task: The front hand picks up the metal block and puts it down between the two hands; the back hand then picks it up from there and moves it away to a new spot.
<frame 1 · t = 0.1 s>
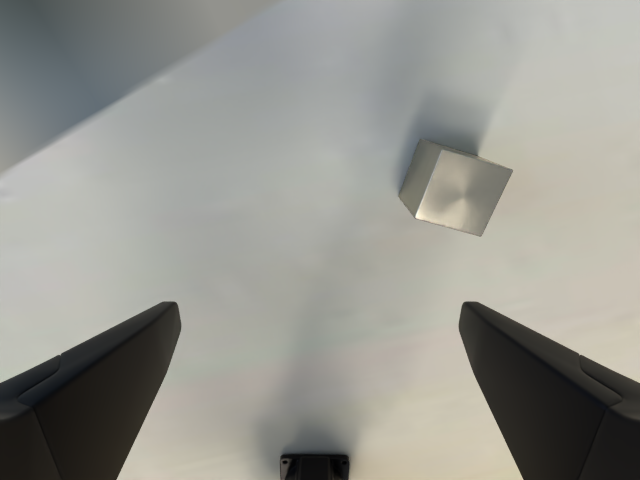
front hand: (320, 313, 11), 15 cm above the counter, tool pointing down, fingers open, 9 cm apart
block: (437, 176, 24), on the counter
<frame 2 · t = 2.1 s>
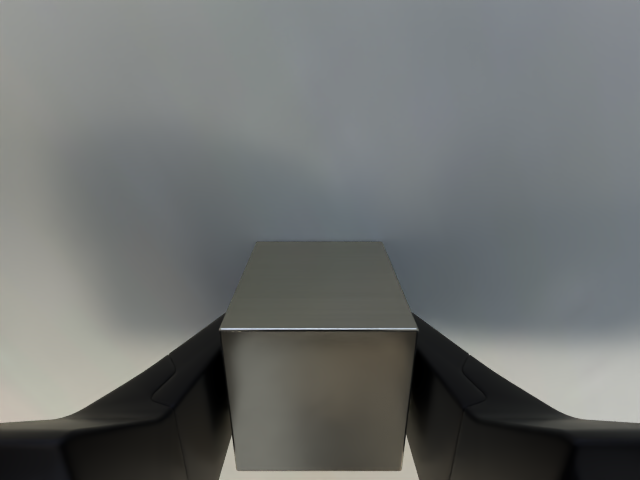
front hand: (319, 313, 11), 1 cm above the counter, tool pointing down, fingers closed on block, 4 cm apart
block: (319, 297, 12), on the counter, touching front hand
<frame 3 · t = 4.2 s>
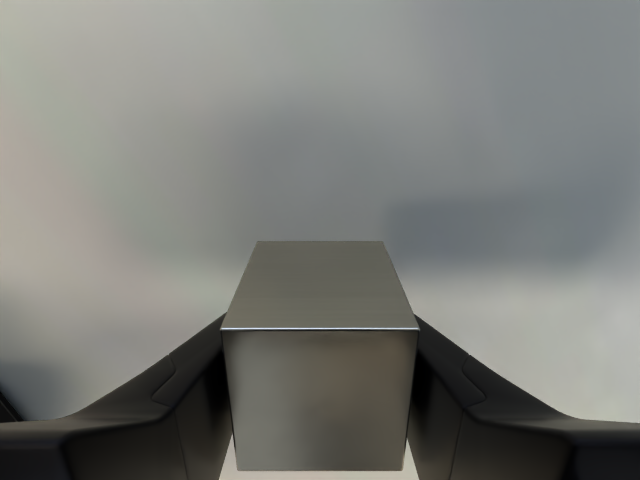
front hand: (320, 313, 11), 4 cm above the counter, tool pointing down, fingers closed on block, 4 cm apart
block: (320, 297, 12), point 3 cm above the counter, touching front hand
when the front hand's fingers open (2 cm above the counter, at t = 6.7 s): block stays where it is, on the counter.
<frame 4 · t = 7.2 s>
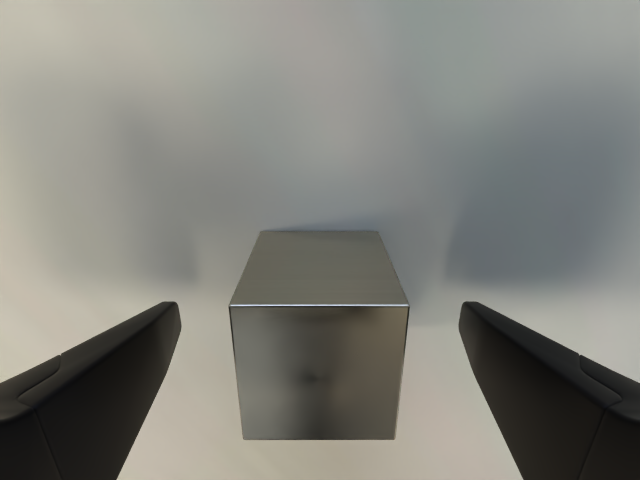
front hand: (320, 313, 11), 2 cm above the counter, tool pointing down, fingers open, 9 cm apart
block: (319, 284, 13), on the counter
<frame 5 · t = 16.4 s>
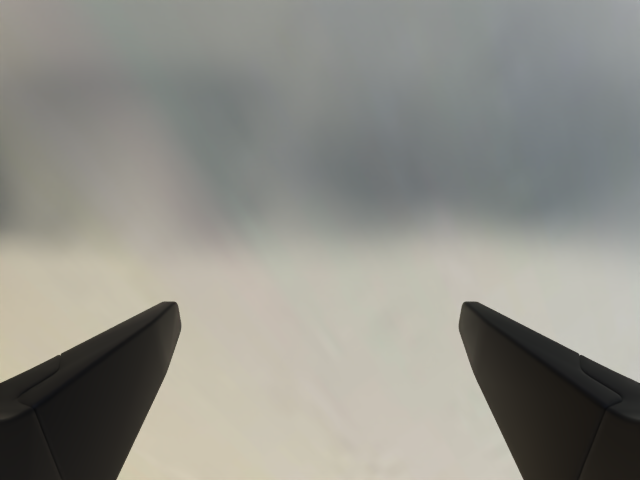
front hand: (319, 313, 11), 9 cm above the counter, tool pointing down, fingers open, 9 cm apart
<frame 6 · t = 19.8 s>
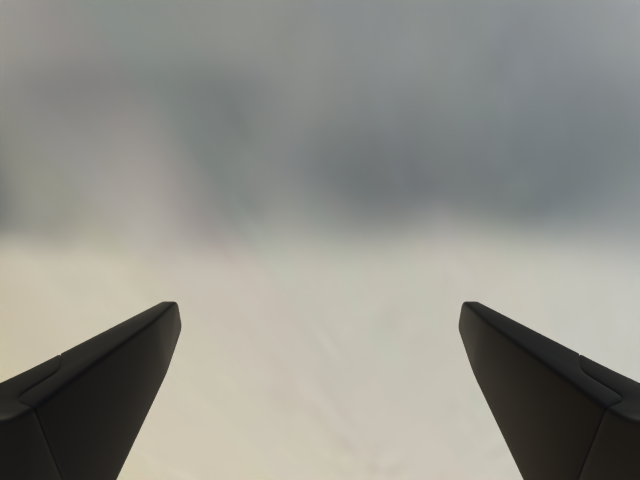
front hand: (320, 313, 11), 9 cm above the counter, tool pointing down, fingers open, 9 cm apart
when the back hand's fingers open (1 cm above the counter, at t = 23.3 s): block stays where it is, on the counter.
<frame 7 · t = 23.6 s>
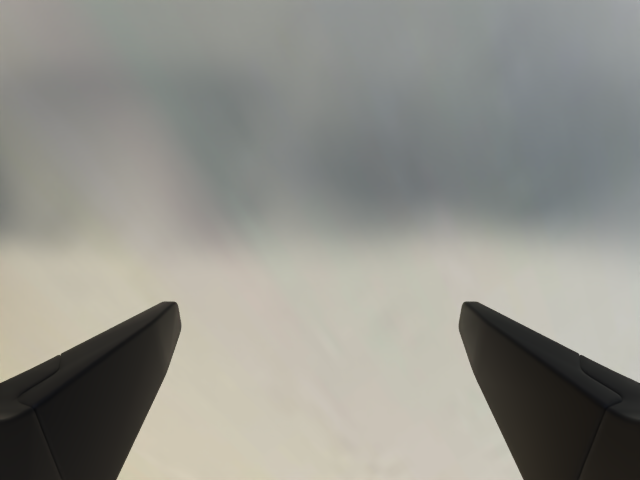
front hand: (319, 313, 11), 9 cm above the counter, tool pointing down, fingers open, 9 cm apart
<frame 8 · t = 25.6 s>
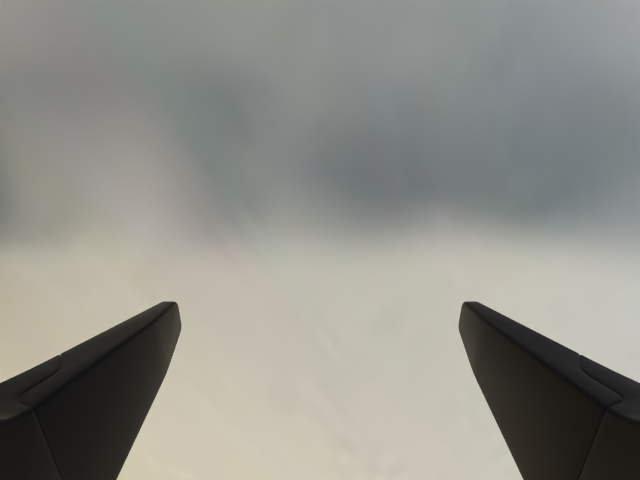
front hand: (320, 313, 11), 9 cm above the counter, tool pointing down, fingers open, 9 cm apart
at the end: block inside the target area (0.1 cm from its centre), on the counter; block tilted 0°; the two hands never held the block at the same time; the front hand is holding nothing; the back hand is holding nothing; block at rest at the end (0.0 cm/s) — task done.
